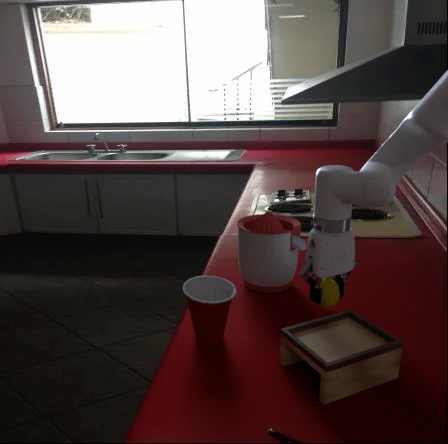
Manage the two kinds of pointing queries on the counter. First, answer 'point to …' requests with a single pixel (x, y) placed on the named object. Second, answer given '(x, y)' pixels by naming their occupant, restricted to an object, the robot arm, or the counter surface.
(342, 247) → the robot arm
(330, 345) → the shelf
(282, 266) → the citrus juicer
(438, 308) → the counter surface
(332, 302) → the lemon
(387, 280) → the counter surface
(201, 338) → the plastic cup
